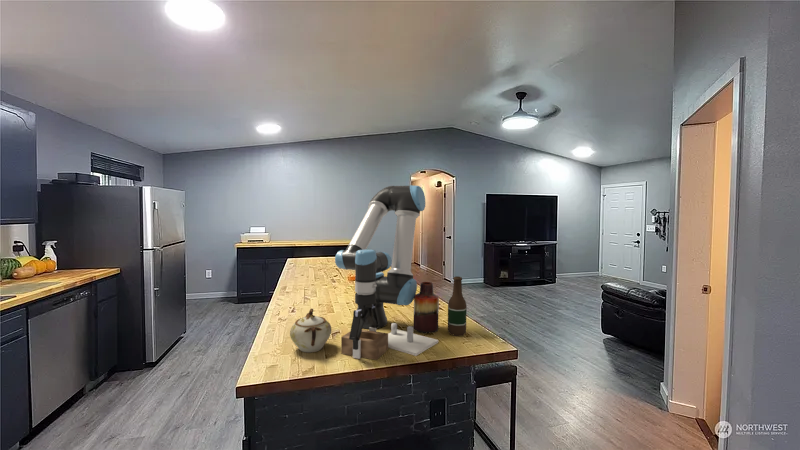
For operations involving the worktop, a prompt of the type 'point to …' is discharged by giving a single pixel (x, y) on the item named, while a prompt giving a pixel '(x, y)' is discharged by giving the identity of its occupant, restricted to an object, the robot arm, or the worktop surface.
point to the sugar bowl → (310, 332)
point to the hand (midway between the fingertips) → (365, 351)
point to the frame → (367, 344)
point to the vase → (426, 309)
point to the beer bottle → (457, 310)
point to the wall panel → (412, 346)
